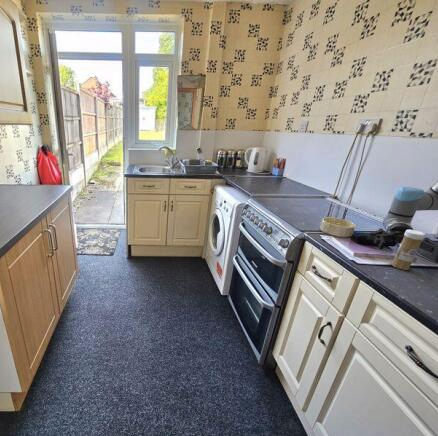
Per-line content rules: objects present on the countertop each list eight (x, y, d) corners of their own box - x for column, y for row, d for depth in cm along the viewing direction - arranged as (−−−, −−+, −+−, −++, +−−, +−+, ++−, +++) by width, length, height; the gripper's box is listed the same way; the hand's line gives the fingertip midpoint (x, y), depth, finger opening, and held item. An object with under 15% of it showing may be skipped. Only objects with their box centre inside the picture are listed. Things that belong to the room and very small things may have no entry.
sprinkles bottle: (400, 270, 83) (417, 234, 78) (387, 263, 87) (402, 229, 82) (412, 270, 83) (430, 234, 79) (398, 263, 88) (414, 228, 83)
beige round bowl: (348, 230, 115) (352, 220, 113) (354, 240, 105) (358, 229, 103) (317, 225, 120) (320, 215, 118) (321, 234, 110) (324, 224, 108)
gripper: (441, 250, 91) (461, 275, 75) (356, 232, 105) (357, 250, 89) (451, 231, 88) (474, 254, 72) (362, 215, 102) (364, 231, 86)
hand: (409, 252), depth 80 cm, fingers open, 13 cm apart
